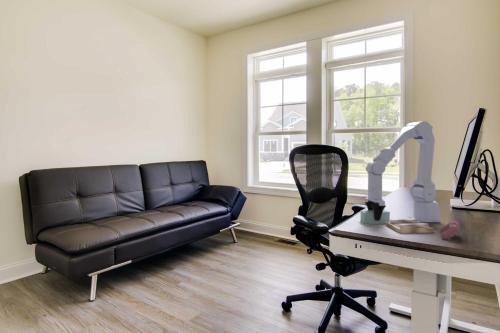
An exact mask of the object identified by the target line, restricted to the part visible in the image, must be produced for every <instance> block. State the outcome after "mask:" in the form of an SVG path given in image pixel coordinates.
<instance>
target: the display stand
mask: <svg viewBox="0 0 500 333" xmlns="http://www.w3.org/2000/svg"><path fill="white" fill-rule="evenodd" d="M429 225H430V224H429V222H418V219H410V218H403V219H402V218H398V219H397V218H396V219H395V218H393V219H392V218H390V222H386V223H385V226H386V227H388V229H391V230H393V231H395V232H397V233H399V234H424V233H425V234H427V233H429V234H430V233H434V228H433V227H430V226H429Z"/></svg>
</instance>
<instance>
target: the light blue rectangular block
mask: <svg viewBox="0 0 500 333" xmlns="http://www.w3.org/2000/svg"><path fill="white" fill-rule="evenodd" d="M390 214H391V212H390V211H388V210H385V209H384V210H383V212H382V215H381V219H380V220H379V221H375V219H374V212H373V210H368V209H366V210H365V209H364V210H360V222H361V223H363V224H365V225H366V224H386V222H390V219H391V218H390V216H391V215H390Z"/></svg>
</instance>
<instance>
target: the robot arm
mask: <svg viewBox="0 0 500 333" xmlns="http://www.w3.org/2000/svg"><path fill="white" fill-rule="evenodd" d="M410 139H414V140H415V141H417V143H418V144H419V151H418V152H419V153H418V163H417V171H416V172H417V174H416V178H415V179H414V180H413V182H412V187H410V195H411V197H412V199H413V209H412V210H413V212H412V214H413V215H412V216H411V217H408V219H418V222H419V223H441V220H440V205H439V203H438V202H437V201H436V200H435V199H436V198H437V190H436V184H435V182H433V180H432V176H433V175H432V174H433V161H434V154H435V153H434V152H435V142H436V140H435V136H434V133H433V125H431V123H430V122H428V121H426V120H421V121H417V122H416V121H415V122H408V123H407V124H406V125H405V126H404V127H402V129H401V131H400V133H399V134H398V135H397V136H396V138H395V139H394V140H393V141H392V142H391V144H390V145H389V146H388V147H384V148H380V150H379V153H378V154H377V155H376V156H375V157H373V159H372V160H371V161H369V162H368V163H367V164H366V166H365V171H366V172H367V195H365V200H366V201H364V204H365V207H366V208H367V209H366V210H373V212H374V219H375V221H379V220H380V219H381V215H382V212H383V210H385V208H386V207H387V205H386V201H385V200H384V199H383V174H384V173H385V171H386V167H387V166H388V165H389V163H390V162H391V161H392V160H393V159H394V158H395V157H396V152H397V151H398V150H399V149H400V148H401V147H402V146H403V145H404V144H405V143H406V142H407V141H408V140H410Z"/></svg>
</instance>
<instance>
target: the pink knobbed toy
mask: <svg viewBox="0 0 500 333" xmlns="http://www.w3.org/2000/svg"><path fill="white" fill-rule="evenodd" d="M460 229H461V227H460V223H459V221H456V220H451V221H450V222H448V223H447V224H445V225H444V226H441V228H439V232H440V236H439V237H440V238H441V239H442V240H449V239H453V238H454V237H455V236H457V235H459V234H460V233H461V231H460Z"/></svg>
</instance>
